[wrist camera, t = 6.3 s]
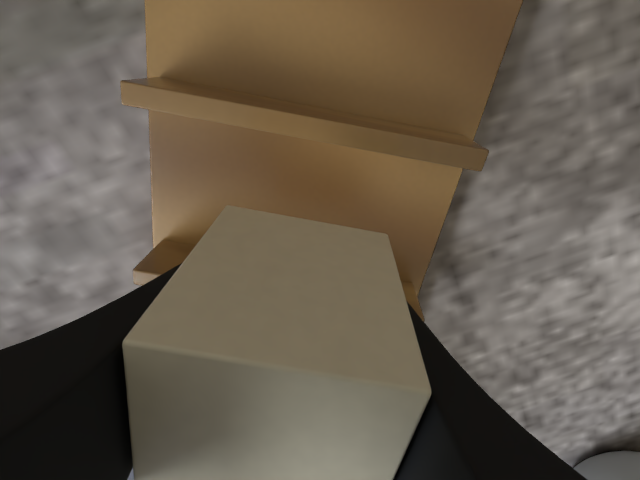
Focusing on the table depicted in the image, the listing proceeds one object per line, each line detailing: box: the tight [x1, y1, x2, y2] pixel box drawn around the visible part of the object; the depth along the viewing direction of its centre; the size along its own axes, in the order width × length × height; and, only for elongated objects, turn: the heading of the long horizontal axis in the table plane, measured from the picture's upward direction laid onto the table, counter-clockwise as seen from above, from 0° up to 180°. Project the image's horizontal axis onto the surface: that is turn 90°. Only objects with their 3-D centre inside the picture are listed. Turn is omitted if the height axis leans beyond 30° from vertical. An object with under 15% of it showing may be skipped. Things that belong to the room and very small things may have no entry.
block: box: [122, 205, 432, 480], centre depth 9 cm, size 4×5×6 cm
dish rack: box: [120, 0, 523, 322], centre depth 16 cm, size 24×14×4 cm, turn 170°
